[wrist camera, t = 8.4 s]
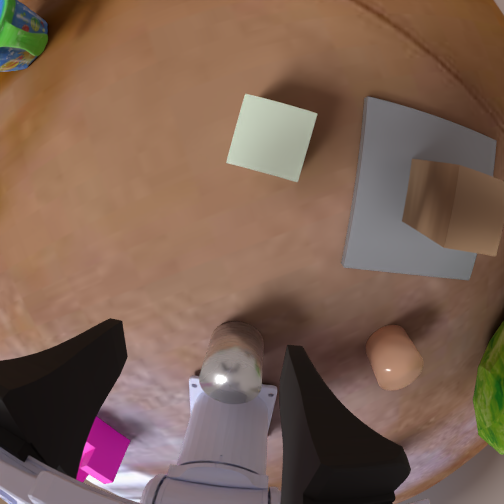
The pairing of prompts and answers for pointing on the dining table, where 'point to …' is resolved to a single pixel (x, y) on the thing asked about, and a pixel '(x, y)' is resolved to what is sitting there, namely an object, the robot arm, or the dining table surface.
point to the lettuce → (491, 393)
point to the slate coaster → (405, 189)
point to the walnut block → (455, 206)
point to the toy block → (102, 453)
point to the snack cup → (20, 35)
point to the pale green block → (271, 137)
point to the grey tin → (233, 363)
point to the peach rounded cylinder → (393, 357)
